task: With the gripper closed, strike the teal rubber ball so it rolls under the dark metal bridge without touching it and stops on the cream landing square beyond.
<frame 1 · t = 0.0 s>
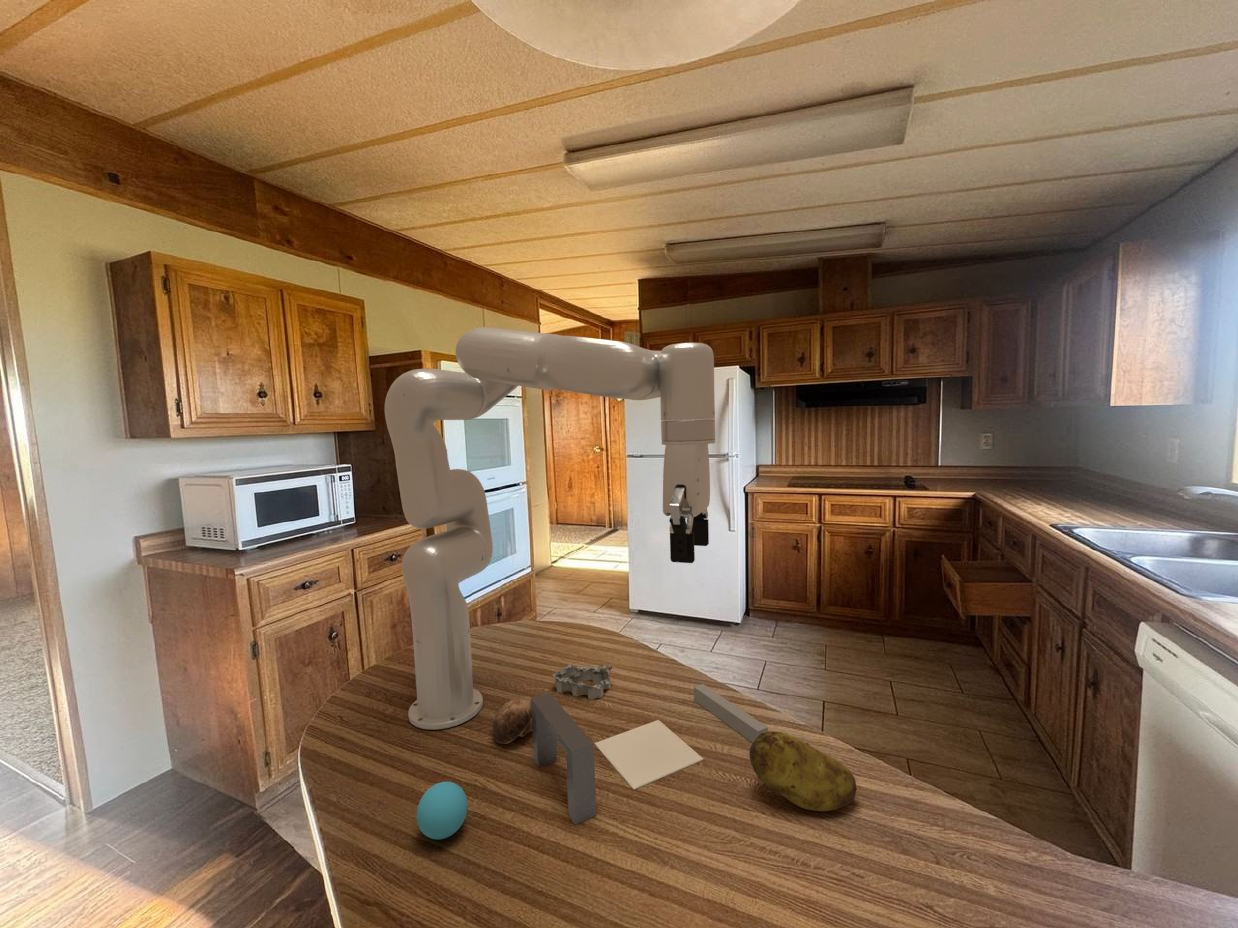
hand: (690, 553, 75), 31 cm above the countertop, fingers open, 9 cm apart
potato: (801, 799, 69), on the countertop
grey scalloped ring: (582, 690, 100), on the countertop
bridge: (562, 785, 73), on the countertop
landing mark: (647, 751, 80), on the countertop
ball: (442, 809, 65), on the countertop
brown rounded lump: (514, 737, 85), on the countertop
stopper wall: (728, 719, 88), on the countertop
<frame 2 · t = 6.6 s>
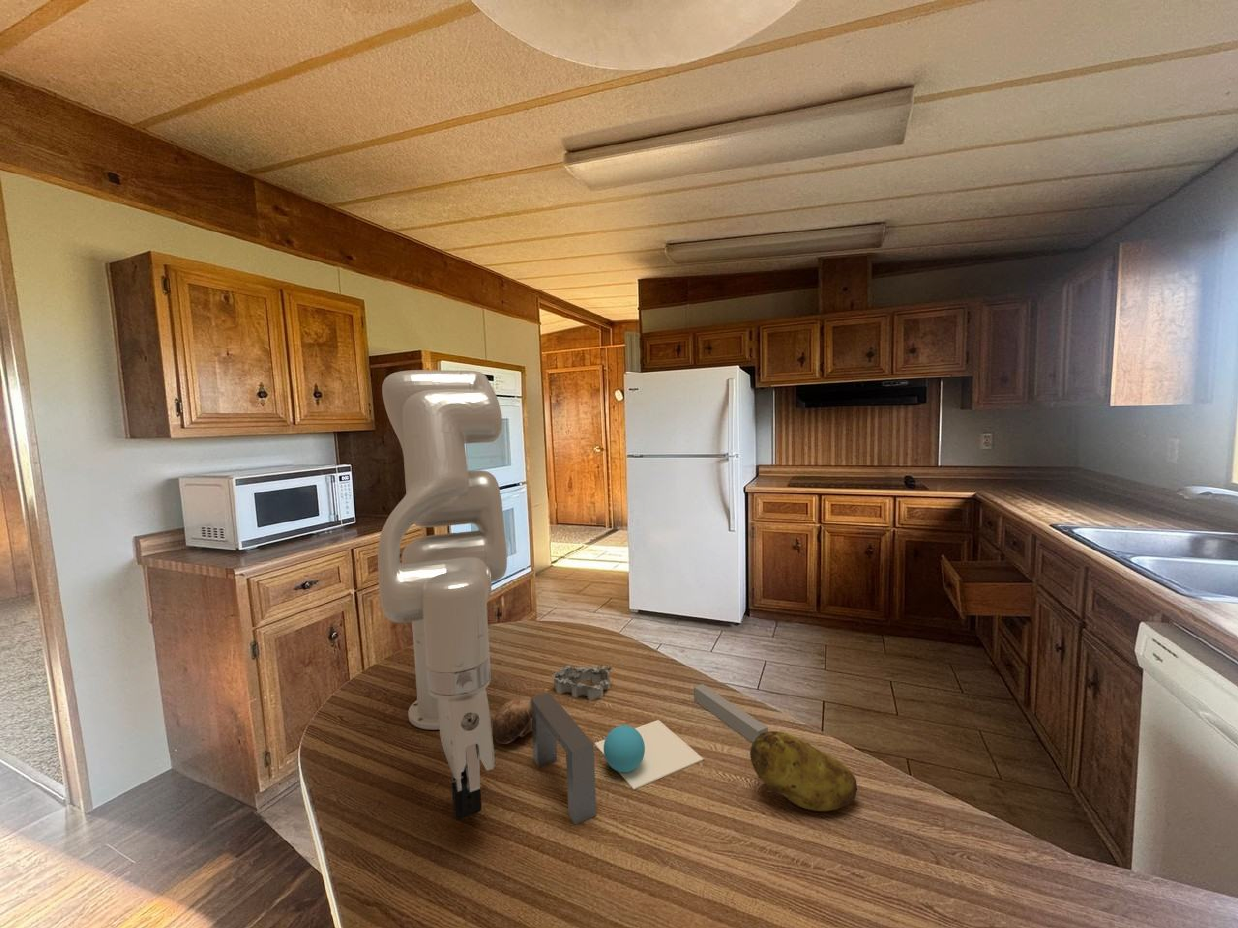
hand: (467, 811, 67), 2 cm above the countertop, fingers closed
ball: (624, 748, 76), on the countertop
everything else where it was.
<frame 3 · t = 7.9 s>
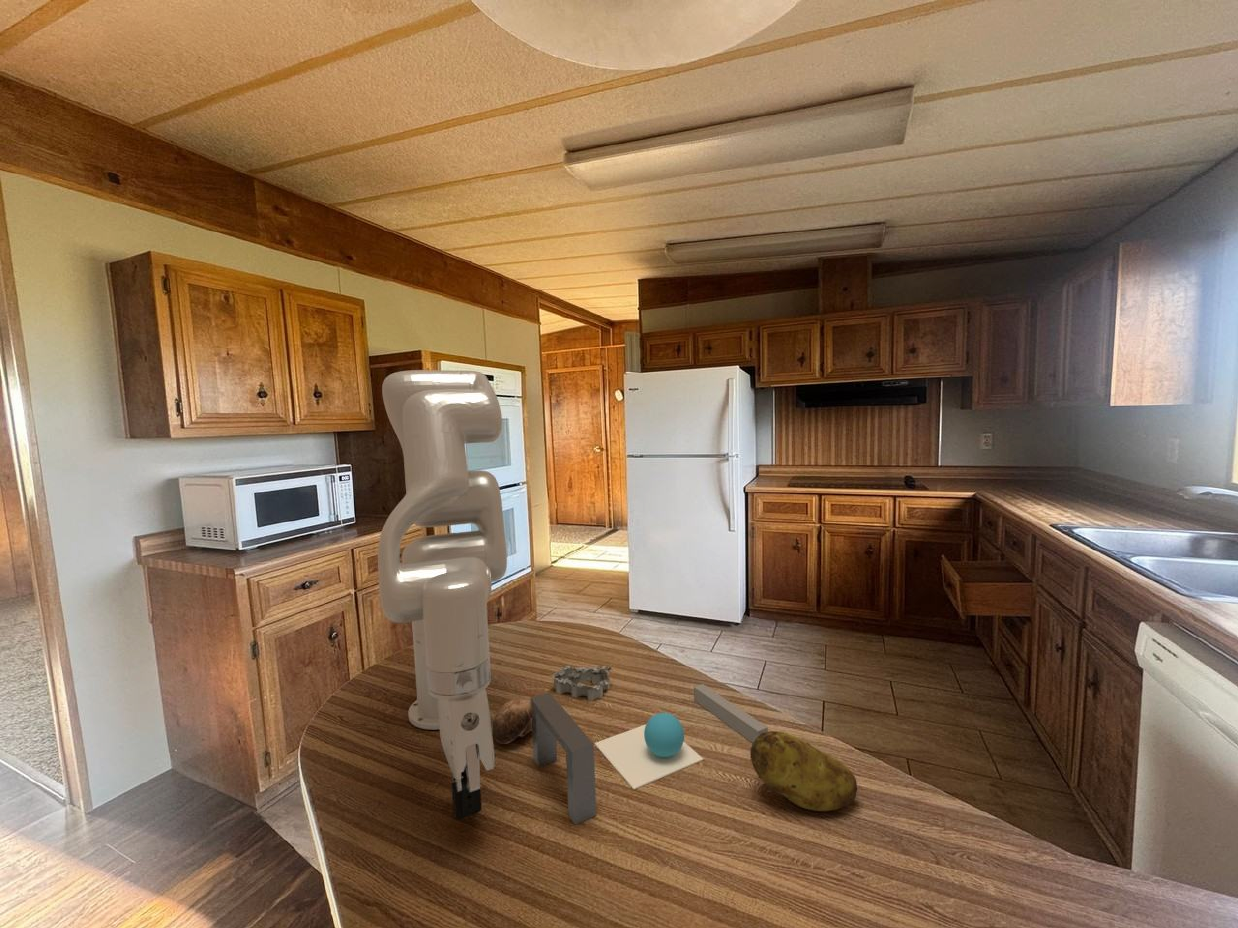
hand: (467, 811, 67), 2 cm above the countertop, fingers closed
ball: (664, 734, 79), on the countertop
everything else where it was.
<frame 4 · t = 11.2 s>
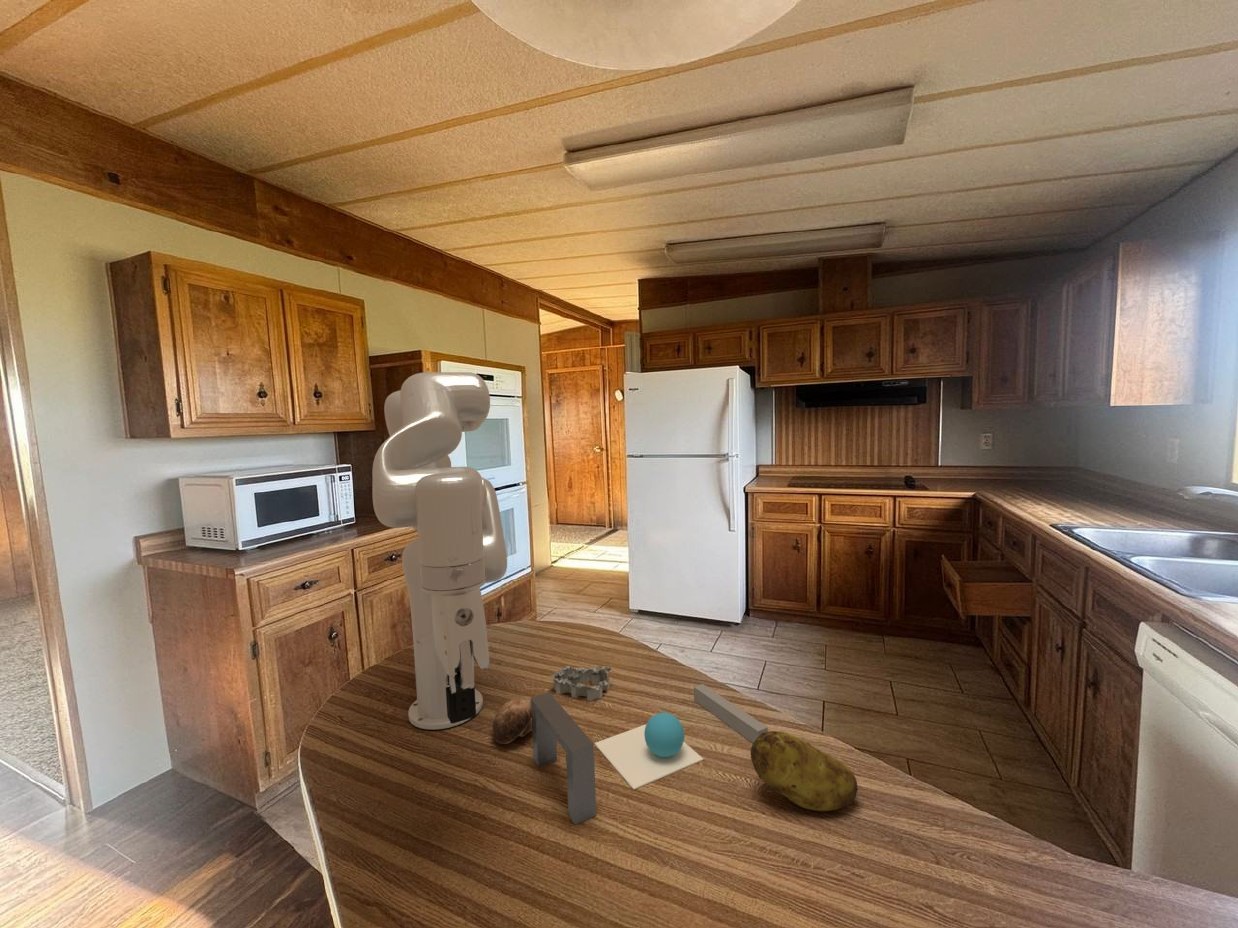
hand: (461, 716, 66), 14 cm above the countertop, fingers closed
nothing on the countertop moved.
at the end: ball 2.7 cm from the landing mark (horizontally); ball never touched bridge; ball at rest at the end (0.0 cm/s) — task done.
